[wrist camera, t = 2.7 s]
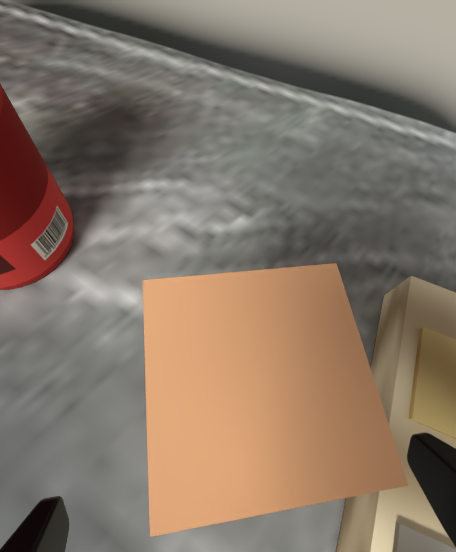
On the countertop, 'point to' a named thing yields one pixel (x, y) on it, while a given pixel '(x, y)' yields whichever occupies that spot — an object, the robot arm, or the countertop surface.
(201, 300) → the plug
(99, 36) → the countertop surface
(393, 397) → the socket plate
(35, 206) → the canned food
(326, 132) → the countertop surface
